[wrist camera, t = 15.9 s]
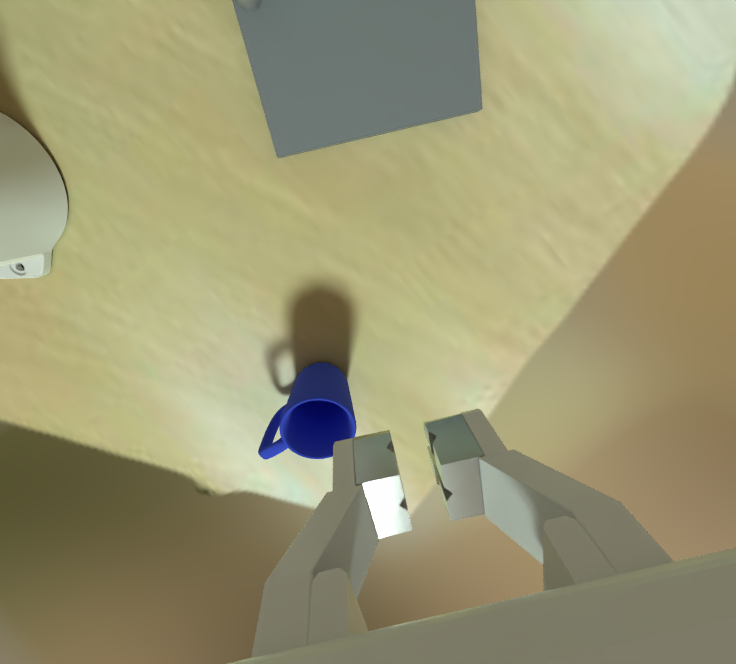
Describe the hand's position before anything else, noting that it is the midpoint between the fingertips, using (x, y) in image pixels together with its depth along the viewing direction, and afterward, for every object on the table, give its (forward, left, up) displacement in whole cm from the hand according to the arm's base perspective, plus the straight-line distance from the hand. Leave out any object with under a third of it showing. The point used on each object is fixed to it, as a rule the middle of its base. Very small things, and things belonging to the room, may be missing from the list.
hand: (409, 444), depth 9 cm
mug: (-10, -17, -33) cm, 39 cm away
